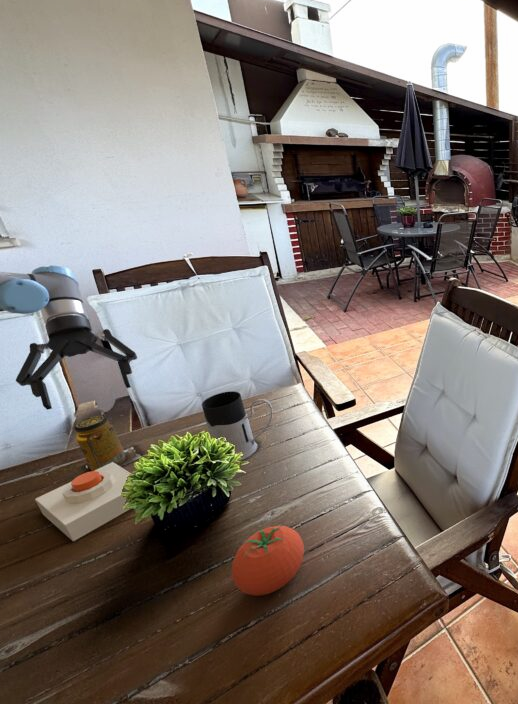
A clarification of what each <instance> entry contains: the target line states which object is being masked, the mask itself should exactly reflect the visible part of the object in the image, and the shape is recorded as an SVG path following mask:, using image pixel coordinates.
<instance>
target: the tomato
mask: <svg viewBox="0 0 518 704" xmlns="http://www.w3.org/2000/svg"><path fill="white" fill-rule="evenodd" d="M304 554H305V547H304V542H303V539H302V537H301V535H300V534H299V533H298V532H297V531H296V530H295V529H293V528H291V527H289V526H285V525H274V526H269V527H266V528H264V529H259V531H257V532H255V533H254V534H253V535H251V536H250V537H248V538H247V539H246V540H245V541H244V542H243V543H241V546H240V547H239V548H238V550H237V551H236V553H235V555H234V557H233V560H232V565H231V575H232V576H231V577H232V581H233V583H234V585H235V586H236V588H237V589H238V590H240V591H241V592H242V593H244V594H247V595H251V596H256V597H257V596H264V595H268V594H271V593H274V592H276V591H277V590H280V589H281V588H283V587H284V586H285V585H287V584H288V583H289V582H290V581H291V580H292V579H293V578H294V577H295V576H296V574H297V573H298V571H299V570H300V567H301V565H302V563H303V559H304V556H305V555H304Z"/></svg>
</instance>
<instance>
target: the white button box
mask: <svg viewBox="0 0 518 704" xmlns="http://www.w3.org/2000/svg"><path fill="white" fill-rule="evenodd" d="M120 466H121V465H119V466H118V465H117V464H115V463H114V462H112V463H109V464H107V465H105V466H103V467H101V468H99V469H97V470H95V471H98V472H99V473H100V475H101V478H102V481H101V482H100V483H99V484H98V485H96V486H94V487H92V488H90V489H88V490H85V491H81V492H75V491H74V489H73V487H72V485H71V482H72V481H70V482H67V483H65V484H63V485H60V486H59V487H57V488H55V489H53V490H50V491H49V492H46V493H45V494H42V495H40V496H38V497H36V498H34V501H35V503H36V504H37V507H38V508H39V510H40V512H41V514H42V515H43V517H45V518H46V519H47V520H48V521H50V522H51V524H53V525H54V526H55V527H56V528H57V529H59V530H60V532H62V533H63V534H64V535H65V536H66V537H67V538H68V539H69V540H71V541H72V542H76V541H77V540H78V539H80V538H82V537H84V536H86V535H87V534H89V533H91V532H92V531H94V530H96V529H98V528H100V527H101V526H104V525H105V524H107V523H108V522H110V521H112V520H113V519H115V518H117V517H119V516H120V515H123V514H124V513H126V512H128V511H130V509H123V505H124V504H125V502H126V498H125V497H123V496H122V495H121V492H122V489H123V486H124V484H125V482H126V480H127V477H128V476H129V475H130V474H132V473H131V472H129V471H128V470H126V469H125V468H123V467H122V466H121V467H120Z"/></svg>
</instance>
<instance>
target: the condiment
mask: <svg viewBox="0 0 518 704" xmlns="http://www.w3.org/2000/svg"><path fill="white" fill-rule="evenodd" d="M74 431H75V432H76V441H77V444H78V445H79V447H80V450H81V451H82V454H83V456H84V458H85V461H86V463H87V464H88V465H85V468H86V469H88V467H89V469H90V470H91V471H95V470H97V469H99V468H101V467H103V466H105V465H107V464H109V463H112V462H114V463H115V464H117V465H118V466H120V467H121V468H122V467H123V466H126V465H128V464H130V463H133V462H135V461H136V460H139V459H141V457H142V456H141V454H138V453H136V449H134V446H130V447H128V448H126V449H124V448H123V446H122V444H121V441H120V439H119V437H118V435H117V433H116V430H115V427H114V426H113V425H112V424H110V421H109V420H108V418H107V416H105V415H93V416H91V417H88V418H85V419H82V420H80V421H79V422H77V423H76V424H75V425H74ZM127 452H128V453H131V454H132V453H134V455H135V456H134V457H133V458H130V459H129V460H128V461H126V459H127V457H126V453H127ZM125 461H126V462H125ZM123 463H124V464H123Z"/></svg>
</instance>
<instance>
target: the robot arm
mask: <svg viewBox="0 0 518 704" xmlns="http://www.w3.org/2000/svg"><path fill="white" fill-rule="evenodd" d="M0 311H6V312H7V313H11V314H20V315H27V314H33V313H37V312H39V311H40V313H41V317H42V320H43V323H44V327H45V331H46V335H47V338H48V342H46V343H37V342H31V343H30V344H29V353H28V355H27V357H26V359H25V361H24V363H23V364H22V367H21V369H20V370H19V371H18V374H17V376H16V378H15V382H16V383H17V384H18V385H19V386H20V387H21V386H22V387H25V386H30V390H31V393H32V395H33V396H34V397H35V398H40V399H41V400H40V401H41V403H42V406H43V407H44V408H45V409H46V410H52V409H53V406H52V403H51V400H50V399H51V398H50V396H49V392H48V389H47V386H46V383H45V382H44V380H45V378H46V377H47V376H48V375H49V374H50V373H51V372H52V370H53V369H54V368H55V367H56V366H57V365H58V363H59V362H61V361H62V360H63V359H65V357H68V358H71V357H72V358H73V357H75V356H77V355H85V354H88V353H89V352H92V353H95V354H98V355H101V356H103V357H106V358H108V359H111V360H113V361H116V362H117V365H118V368H119V372H120V374H121V378H122V381H123V385H124V386H125V387H126V389H131V388H132V387H131V383H130V380H129V377H128V376H129V375H132V374H133V370H132V366H131V365H130V363H131V362H132V361H135V360H138V355H137V353H136V352H135V351H134V350H133V349H131V348H129V347H128V346H127V345H126V344H124V343H123V342H121V341H120V340H119V339H117V338H116V337H115V336H113V335H112V333H111V331H110V330H109V329H108V328H106V329H103V330H102V332H98V333H95V332H93V329H92V325H91V322H90V319H89V316H88V313H87V309H86V305H85V303H84V301H83V297H82V294H81V290H80V285H79V282H78V281H77V278H76V276H75V274H74V272H73V271H72V270H71V269H69V268H67V267H65V266H61V265H55V264H54V265H49V266H46V265H43V266H42V265H41V266H40V267H36V268H34V269H33V270H32V271H31V272H30V273H18V272H5V271H0ZM98 339H101V340H102V341H105V342H106V341H107V342H108V343H109V344H110V345H112V347H114V348H115V349H117V350H118V351H119V352H121V353H123V354H121V353H119V352H116V351H114V350H111V349H109V348H107V347H104V346H102V345H100V344H98V343H97V342H98ZM48 349H49V350H50V351H51V352H50V353H49V355H48V357H47V358H46V359H45V360H43V362H42V363H41V364H40V366H38V364H39V362H40V360H41V357H42V355H43V354H45V352H46V350H48ZM37 366H38V368H37Z"/></svg>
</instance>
